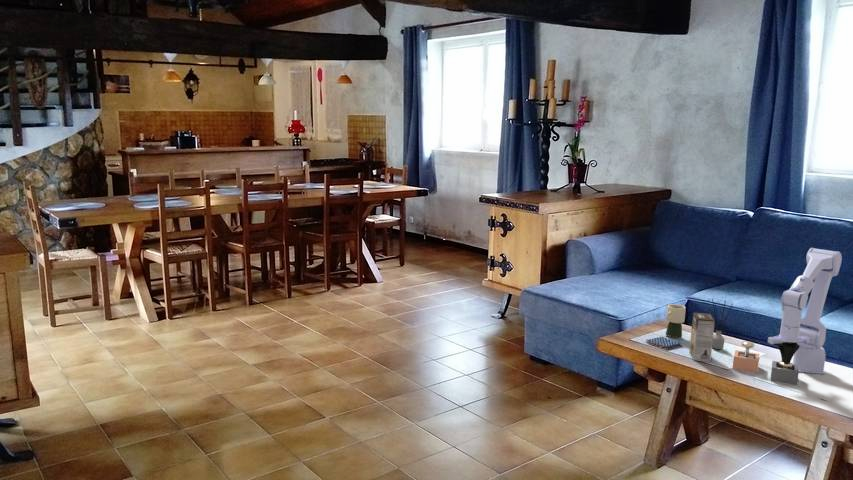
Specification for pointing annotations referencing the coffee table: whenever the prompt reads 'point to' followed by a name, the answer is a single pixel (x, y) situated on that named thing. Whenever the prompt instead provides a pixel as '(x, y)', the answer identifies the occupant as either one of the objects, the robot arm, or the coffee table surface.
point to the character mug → (675, 320)
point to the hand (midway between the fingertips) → (785, 363)
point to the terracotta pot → (746, 362)
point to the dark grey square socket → (784, 373)
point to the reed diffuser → (718, 331)
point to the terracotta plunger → (747, 349)
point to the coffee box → (701, 336)
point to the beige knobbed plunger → (785, 365)
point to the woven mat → (664, 343)
